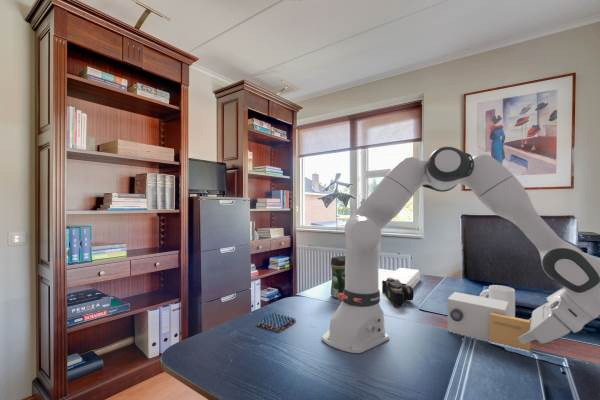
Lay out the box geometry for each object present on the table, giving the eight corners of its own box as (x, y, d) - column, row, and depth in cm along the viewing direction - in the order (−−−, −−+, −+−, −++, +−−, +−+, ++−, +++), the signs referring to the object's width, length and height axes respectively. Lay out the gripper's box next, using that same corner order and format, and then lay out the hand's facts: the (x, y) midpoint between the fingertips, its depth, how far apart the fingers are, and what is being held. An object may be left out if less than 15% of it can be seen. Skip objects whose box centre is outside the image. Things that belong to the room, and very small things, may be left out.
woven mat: (280, 334, 97) (280, 328, 97) (256, 326, 103) (256, 321, 103) (297, 323, 106) (297, 317, 106) (274, 317, 112) (274, 311, 112)
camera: (418, 308, 120) (418, 284, 120) (393, 308, 120) (393, 284, 120) (405, 296, 136) (405, 274, 136) (383, 296, 136) (383, 274, 136)
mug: (485, 311, 117) (485, 281, 117) (519, 322, 106) (519, 289, 106) (473, 315, 113) (473, 284, 113) (507, 326, 102) (507, 292, 102)
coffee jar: (344, 292, 141) (344, 254, 141) (355, 297, 134) (355, 256, 134) (327, 295, 136) (327, 255, 136) (338, 300, 129) (338, 258, 129)
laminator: (406, 297, 135) (406, 283, 135) (379, 293, 142) (379, 280, 142) (419, 280, 164) (419, 269, 164) (397, 277, 170) (397, 267, 170)
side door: (530, 355, 82) (529, 322, 82) (489, 344, 88) (489, 314, 88) (530, 351, 84) (530, 320, 84) (491, 341, 90) (491, 312, 90)
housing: (504, 348, 87) (504, 311, 87) (446, 333, 97) (446, 300, 97) (508, 335, 96) (508, 301, 96) (454, 322, 106) (454, 291, 106)
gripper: (555, 290, 87) (514, 314, 93) (556, 308, 72) (508, 336, 78) (575, 308, 84) (532, 332, 90) (582, 332, 69) (529, 359, 75)
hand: (521, 334), depth 84 cm, fingers open, 8 cm apart
